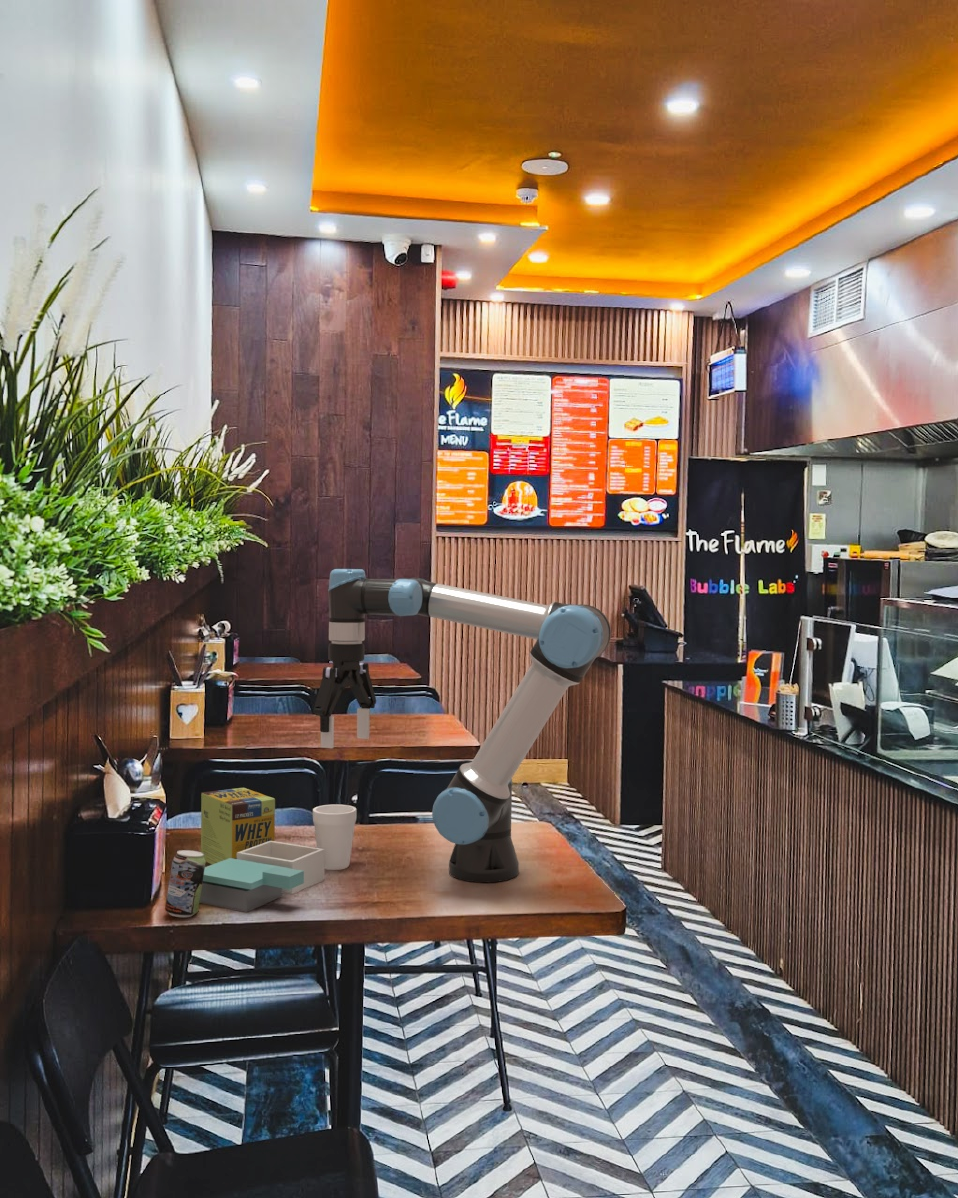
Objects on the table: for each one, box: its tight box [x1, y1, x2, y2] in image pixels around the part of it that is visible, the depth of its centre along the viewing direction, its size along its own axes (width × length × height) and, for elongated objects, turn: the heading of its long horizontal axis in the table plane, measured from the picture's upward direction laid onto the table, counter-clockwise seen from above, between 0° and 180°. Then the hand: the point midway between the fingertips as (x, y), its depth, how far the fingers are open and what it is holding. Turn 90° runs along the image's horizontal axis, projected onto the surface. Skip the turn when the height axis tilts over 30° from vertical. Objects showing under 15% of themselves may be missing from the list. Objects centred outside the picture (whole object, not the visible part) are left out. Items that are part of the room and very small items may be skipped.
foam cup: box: [312, 804, 358, 871], centre depth 230 cm, size 10×9×13 cm
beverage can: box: [164, 849, 207, 918], centre depth 198 cm, size 6×7×12 cm
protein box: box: [200, 787, 276, 865], centre depth 232 cm, size 10×15×16 cm
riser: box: [199, 881, 283, 913], centre depth 207 cm, size 12×11×4 cm
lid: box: [203, 858, 304, 890], centre depth 205 cm, size 21×12×3 cm, turn 64°
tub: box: [237, 840, 325, 895], centre depth 218 cm, size 14×11×7 cm
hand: (345, 743), depth 222 cm, fingers open, 13 cm apart
